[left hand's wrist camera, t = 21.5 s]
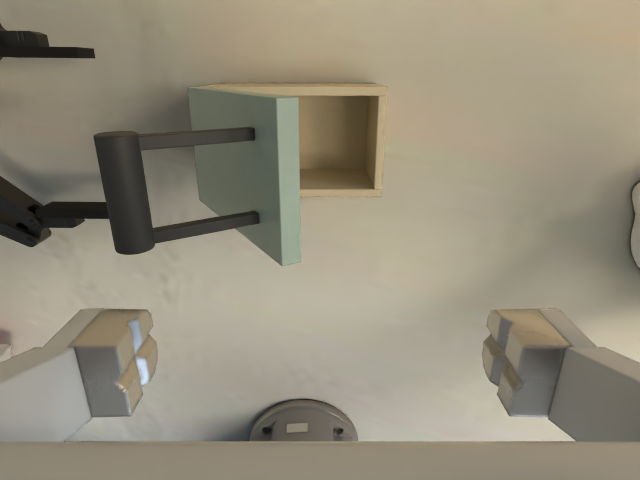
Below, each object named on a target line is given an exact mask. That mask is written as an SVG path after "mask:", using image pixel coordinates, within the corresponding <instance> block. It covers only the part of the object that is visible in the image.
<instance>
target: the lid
mask: <svg viewBox="0 0 640 480" xmlns="http://www.w3.org/2000/svg"><path fill="white" fill-rule="evenodd" d="M187 89H188V98H189V107H190V116H191V126H192V131H181V132H167V133H153V134H138V133H136V132H132V131H114V132H103V133H98V134H95V135H94V141H95V147H96V152H97V157H98V162H99V168H100V173H101V178H102V183H103V188H104V194H105V199H106V204H107V209H108V215H109V220H110V225H111V230H112V235H113V241H114V246H115V250H116V252H117V253H120V254H125V255H132V254H139V253H143V252H146V251H149V250H151V249H152V248H153V247H154V246H155V243H160V242H165V241H170V240H176V239H181V238H186V237H191V236H197V235H202V234H207V233H213V232H218V231H223V230H228V229H234V228H235V229H236V230H237V231H239V232H240V233H241V234H242V235H244V236H245V237H246V238H247V239H249V240H250V241H251V242H252V243H254V244H255V245H256V246H257V247H259V248H260V249H261V250H262V251H264V252H265V253H266V254H267V255H269V256H270V257H271V258H272V259H274V260H275V261H276V262H277V263H279V264H280V265H281V266H286V265H290V264H294V263H298V262H301V226H300V168H299V110H298V97H293V96H284V95H275V94H265V93H256V92H247V91H237V90H228V89H218V88H209V87H188V88H187ZM185 146H194V154H195V163H196V172H197V182H198V191H199V200H200V201H201V202H203V203H204V204H205V205H206V206H208V207H209V208H210V209H211V210H213V211H214V212H215V213H216V214H217V215H219V216H220V217H214V218H208V219H202V220H196V221H191V222H185V223H179V224H173V225H167V226H162V227H156V228H153V227H152V221H151V214H150V208H149V201H148V195H147V188H146V181H145V175H144V168H143V162H142V155H141V150H151V149H162V148H174V147H185Z"/></svg>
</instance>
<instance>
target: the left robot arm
mask: <svg viewBox="0 0 640 480" xmlns="http://www.w3.org/2000/svg"><path fill="white" fill-rule="evenodd" d="M632 200H633V206H634V210H635V220H634V224H633V229H632V234H631V250H632V255H633V258H634V260H635V262H636V264H637V266H638V267H639V268H640V182H639V183H638V184H637V185H636V186H635V187H634V189H633V192H632ZM152 327H153V321H152V316H151V313H150V312H149V311H148V310H144V309H104V308H100V309H82V310H80V311H79V312H78V313H77V314H76V315H75V316H74V317H73V318H72V319H71V320H70V321H69V322H68V323H67V324H66V325H65V326H64V327H63V328H62V329H61V330H60V331H59V332H58V333H57V334H56V335H54V336H53V337H52V338H51V339H50V340H49V341H48V342H47V343H46V344H45V345H44V346H43V347H35V348H33V349H31V350H28V351H26V352H24V353H21V354H19V355H17V356H15V357H12V358H10V359H8V360H5V361H3V362H1V363H0V480H640V363H639V362H637V361H635V360H632V359H630V358H628V357H625V356H623V355H621V354H619V353H616V352H614V351H612V350H609V349H607V348H605V347H597V346H596V345H595V344H594V343H593V342H592V341H591V340H590V339H589V338H588V337H587V336H586V335H585V334H584V333H583V332H582V331H581V330H580V329H579V328H578V327H576V326H575V325H574V324H573V323H572V322H571V321H570V320H569V319H568V318H567V317H566V316H565V315H564V314H563V313H562V312H561V311H560V310H558V309H555V308H549V309H515V310H491V312H490V314H489V316H488V320H487V327H488V329H489V330H490V332H491V333H492V334H491V335H490V336H489V337H488V338H487V339H486V340H485V341H484V344H483V352H482V356H483V366H484V369H485V372H486V375H487V377H488V379H489V380H490V381H491V382H492V383H494V384H495V385H497V386H498V393H497V395H498V397H499V399H500V401H501V402H502V404H503V406H504V408H505V410H506V411H507V413H508V415H509V416H518V417H548V419H549V420H550V421H551V422H553V423H554V424H555V425H556V426H558V427H559V428H560V429H562V430H563V431H564V432H565V433H567V434H568V435H569V436H571V437H572V438H573V439H574V440H576V441H297V442H248V441H64V440H66V439H67V438H68V437H70V436H71V435H72V434H73V433H75V432H76V431H77V430H79V429H80V428H81V427H82V426H84V425H85V424H86V423H88V422H89V421H90V420H91V419H92V418H91V417H121V416H131V415H132V413H133V411H134V410H135V408H136V406H137V404H138V402H139V401H140V399H141V397H142V395H143V393H142V386H143V385H145V384H146V383H148V382H149V381H151V379H152V377H153V375H154V373H155V369H156V364H157V344H156V341H155V340H154V339H153V338H152V337H151V336H150V335H149V334H148V333H149V332H150V330H151V329H152Z"/></svg>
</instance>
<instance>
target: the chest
mask: <svg viewBox="0 0 640 480" xmlns="http://www.w3.org/2000/svg"><path fill="white" fill-rule="evenodd" d="M199 87H209V88H218V89H228V90H237V91H247V92H256V93H265V94H275V95H284V96H293V97H298V110H299V168H300V197H381V196H382V178H383V160H384V143H385V125H386V107H387V89H388V87H386V86H382V85H378V84H375V83H220V84H213V85H206V86H199Z"/></svg>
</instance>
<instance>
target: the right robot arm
mask: <svg viewBox="0 0 640 480" xmlns="http://www.w3.org/2000/svg"><path fill="white" fill-rule="evenodd" d="M3 57H26V58H95V54H94V49H91V48H80V47H49V43H48V38H47V35H45V34H43V33H40V32H32V31H7V30H5V29H4V28H3V27H2V25H1V24H0V60H1V59H2V58H3ZM84 219H109V215H108V209H107V204H106V202H51V203H49V204H47V205H45V206H43V205H42V204H40V203H39V202H37V201H36V200H34V199H33V198H32V197H30V196H29V195H27V194H26V193H24V192H23V191H21V190H20V189H18V188H17V187H16V186H14V185H13V184H11V183H10V182H8V181H7V180H5V179H4V178H2V177H1V176H0V235H2V236H5V237H7V238H9V239H12V240H14V241H17V242H19V243H21V244H24V245H26V246H29V247H34V246H35V245H37V244H39V243H40V242H42V241H44V240H45V239H47V238H48V237H50V236H51V231H50V229H49V228H73V227H76V226H78V225H79V224H81V223H82V222H84V221H85V220H84ZM297 441H358V437H357V432H356V429H355V427H354V425H353V424H352V422H351V421H350V419H349V418H348V417H347V416H346V415H345V414H344V413H342V412H341V411H340V410H338V409H336V408H335V407H333V406H331V405H328V404H325V403H322V402H318V401H313V400H293V401H288V402H284V403H281V404H278V405H275V406H273V407H271V408H270V409H268V410H267V411H265V412H264V413H263V414H262V415H261V416H260V417H259V418H258V419H257V420H256V422H255V423H254V425H253V427H252V429H251V433H250V437H249V442H297Z"/></svg>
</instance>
